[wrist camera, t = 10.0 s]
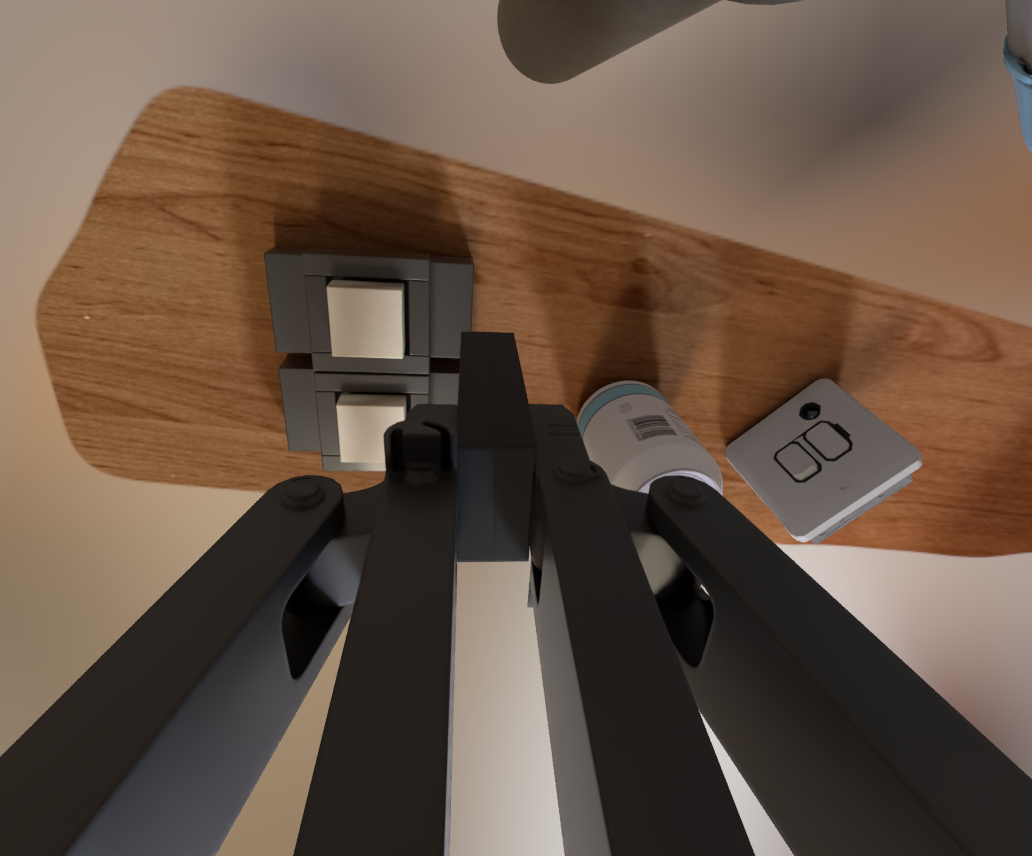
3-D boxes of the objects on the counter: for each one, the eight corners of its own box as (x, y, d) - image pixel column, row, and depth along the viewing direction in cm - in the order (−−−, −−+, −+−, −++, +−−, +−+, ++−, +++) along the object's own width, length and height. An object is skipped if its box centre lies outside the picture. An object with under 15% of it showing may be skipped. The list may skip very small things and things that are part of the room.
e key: (406, 394, 35) (404, 406, 34) (407, 450, 37) (405, 463, 36) (340, 392, 35) (335, 404, 33) (345, 449, 37) (340, 462, 35)
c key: (404, 282, 32) (401, 289, 31) (405, 349, 34) (403, 359, 32) (332, 279, 32) (326, 286, 30) (337, 346, 34) (331, 356, 32)
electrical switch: (822, 371, 42) (918, 438, 34) (847, 413, 44) (941, 484, 36) (717, 448, 44) (784, 528, 36) (747, 484, 46) (815, 566, 39)
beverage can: (557, 442, 42) (593, 544, 32) (598, 361, 40) (652, 442, 29) (636, 469, 44) (695, 574, 33) (681, 393, 41) (760, 480, 31)
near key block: (472, 249, 35) (475, 261, 32) (469, 354, 38) (470, 375, 35) (273, 238, 34) (252, 250, 30) (286, 347, 37) (268, 369, 33)
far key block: (469, 355, 38) (470, 377, 35) (466, 444, 41) (467, 472, 38) (286, 349, 37) (268, 371, 33) (297, 441, 40) (281, 470, 37)
